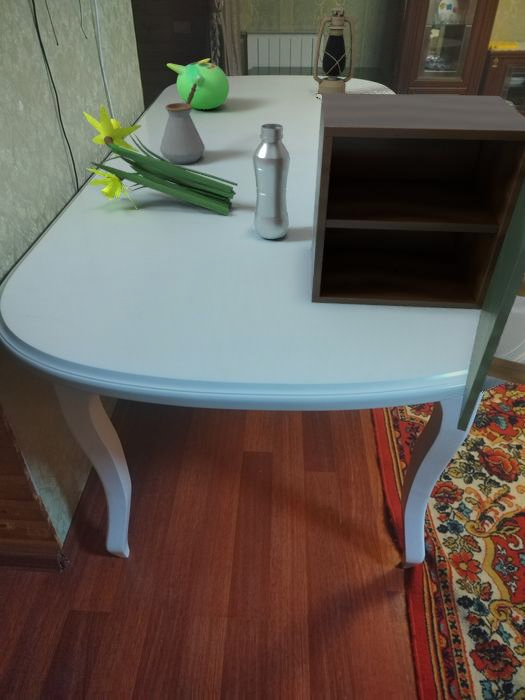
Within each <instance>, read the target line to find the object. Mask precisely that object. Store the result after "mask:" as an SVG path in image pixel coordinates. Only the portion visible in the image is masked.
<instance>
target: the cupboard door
mask: <svg viewBox="0 0 525 700" xmlns="http://www.w3.org/2000/svg"><path fill="white" fill-rule="evenodd" d="M517 297H521V298H525V178H524V181H523V185H522V188H521V191H520V194H519V197H518V200H517V203H516V206H515V209H514V212H513V215H512V218H511V221H510V224H509V227H508V230H507V233H506V236H505V239H504V242H503V245H502V248H501V251H500V254H499V257H498V260H497V263H496V266H495V269H494V273H493V276H492V279H491V282H490V285H489V288H488V291H487V294H486V297H485V300H484V303H483V306H482V309H481V310H480V312H479V317H478V318H479V319H478V323H477V327H476V332H475V338H474V343H473V347H472V352H471V356H470V363H469V367H468V372H467V376H466V382H465V385H464V392H463V397H462V402H461V405H460V411H459V416H458V421H457V426H456V429H457V430H459V431H462V432H466V431H467V429H468V426H469V423H470V422H471V418H472V416H473V413H474V411H475V407H476V405H477V402H478V399H479V397H480V394H481V391H482V389H483V386H484V384H485V381H486V379H487V377H491V378H495V379H499V380H502V381H506V382H511V383H514V384H518V385H522V386H525V363H521V362H518V361H513V360H509V359H505V358H501V357H497V356H495V355H496V351H497V349H498V346H499V343H500V341H501V339H502V335H503V333H504V330H505V328H506V326H507V322H508V320H509V316H510V314H511V311H512V309H513V307H514V304H515V301H516V298H517Z"/></svg>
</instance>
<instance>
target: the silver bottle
mask: <svg viewBox="0 0 525 700" xmlns="http://www.w3.org/2000/svg"><path fill="white" fill-rule="evenodd" d="M259 138H260V139H261V142H260V143H259V144H258V146H257V147H256V148H255V150H254V152H253V156H252V164H253V170H254V178H255V187H256V202H255V203H256V204H255V212H254V218H253V225H254V230H255V232H256V234H257V235H258V236H259V237H261V238H264V239H269V240H276V239H280V238H283V237H285V235H286V234H287V233H288V231H289V225H290V220H289V214H288V208H287V207H288V206H287V205H288V204H287V184H288V176H289V171H290V163H291V162H290V161H291V157H290V152H289V150H288V148H287V147H286V145H285V144H284V143H283V139H284V126H283V124H279V123H264V124H262V125H261V126H260V135H259Z"/></svg>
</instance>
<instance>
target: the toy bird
mask: <svg viewBox="0 0 525 700" xmlns="http://www.w3.org/2000/svg"><path fill="white" fill-rule="evenodd" d="M209 61H211V58H205V59H202V60H199V61H194V62H191V63H189V64H187V65H182V64H181V65H180V64H176V63H167V64H166V66H167V67H168V68H169V69H170V70H172V71H174V72H175V73H177V74H178V75H177V78H176V79H177V80H176V89H177V93H178V95H179V96H180V99H181V100H182V101H183V103H187V99H188V96H189V93H190V92H191V88H192V86H193V85H194V84H195V83H196V84H197V85H199V86H200V87H199V86H196V88H195V89H196V90H199V89H200V90H199V91H195V92H194V97H193V99H192V101H191V103H190V105H191V106H192V109H197V110H201V109H203V111H204V110H205V109H207V110H213V109H215V108H218V107H219V106H221V105H222V104H223V103H224V102H225V101H226V99H227V97H228V95H229V92H230V82H229V79H228V77H227V74H226V73H225V72H224V71H223V69H222V68H221V67H219V66H218V65H216V64H215V63H212V62H209ZM205 111H206V110H205Z"/></svg>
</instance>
